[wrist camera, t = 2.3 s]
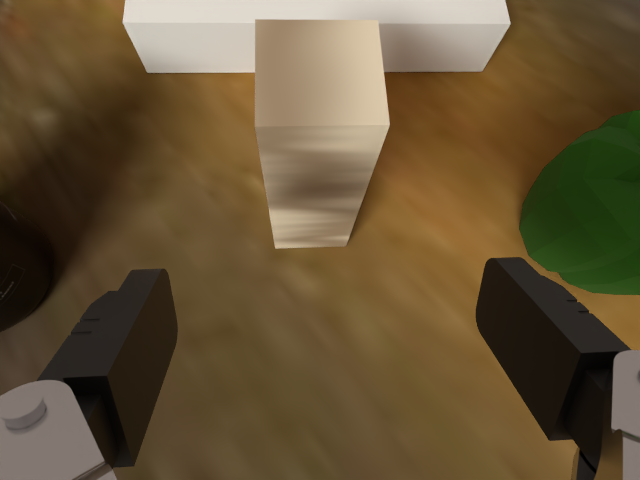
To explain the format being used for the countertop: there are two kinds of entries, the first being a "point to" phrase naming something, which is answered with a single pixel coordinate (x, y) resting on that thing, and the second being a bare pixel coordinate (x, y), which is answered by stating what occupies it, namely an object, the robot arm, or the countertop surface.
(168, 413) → the countertop surface
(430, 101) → the countertop surface
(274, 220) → the beech plug
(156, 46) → the socket hub
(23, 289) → the supplement bottle
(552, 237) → the bell pepper
